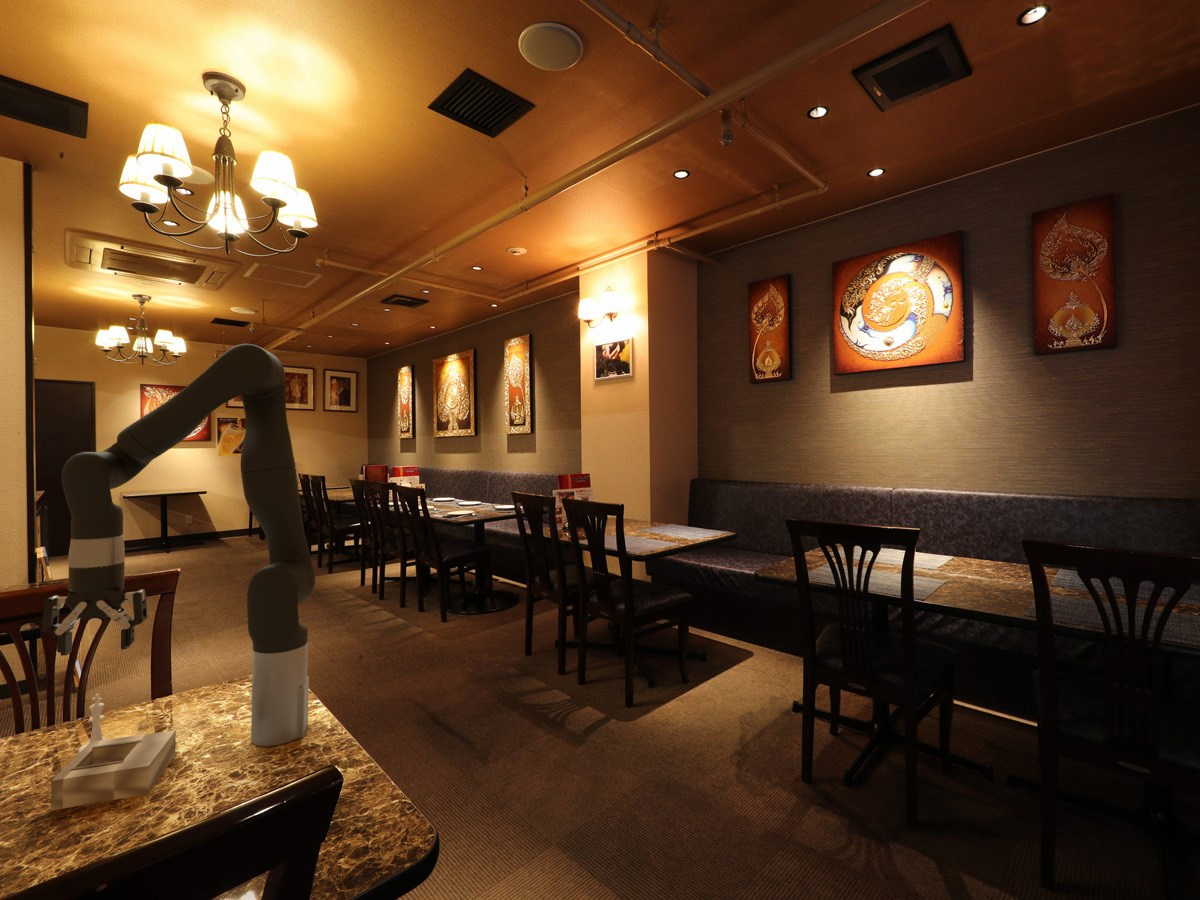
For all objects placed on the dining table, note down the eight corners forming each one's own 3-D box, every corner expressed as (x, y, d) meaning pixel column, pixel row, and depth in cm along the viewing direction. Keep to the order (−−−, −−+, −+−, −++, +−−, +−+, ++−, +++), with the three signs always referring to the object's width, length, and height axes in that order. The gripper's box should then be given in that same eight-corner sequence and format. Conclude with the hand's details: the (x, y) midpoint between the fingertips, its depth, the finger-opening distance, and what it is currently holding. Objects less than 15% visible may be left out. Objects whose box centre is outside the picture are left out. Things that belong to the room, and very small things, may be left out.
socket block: (175, 755, 99) (175, 729, 99) (148, 794, 88) (148, 764, 88) (90, 767, 95) (91, 740, 95) (50, 810, 83) (51, 779, 83)
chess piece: (91, 758, 98) (93, 701, 98) (69, 755, 98) (71, 699, 99) (121, 744, 102) (122, 690, 102) (100, 741, 103) (101, 687, 103)
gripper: (153, 555, 106) (152, 640, 106) (58, 560, 101) (57, 649, 101) (137, 563, 99) (136, 653, 99) (33, 568, 94) (32, 663, 94)
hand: (96, 651), depth 100 cm, fingers open, 8 cm apart
